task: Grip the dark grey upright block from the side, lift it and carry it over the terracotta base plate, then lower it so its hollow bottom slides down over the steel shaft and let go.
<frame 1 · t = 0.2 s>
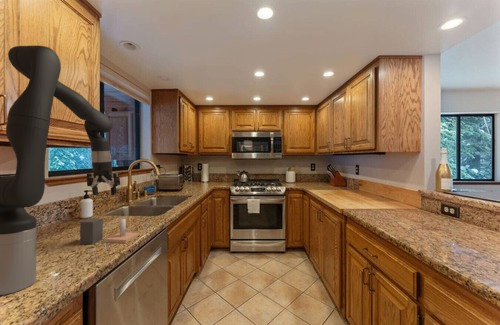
hand: (104, 194, 100), 22 cm above the worktop, tool pointing down, fingers open, 8 cm apart
dark grey upright block: (91, 241, 100), on the worktop
shaft plate: (122, 238, 104), on the worktop
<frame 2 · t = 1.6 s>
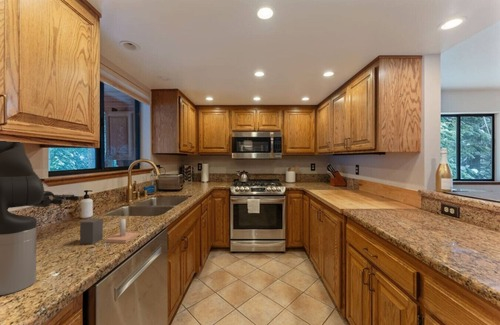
hand: (70, 200, 100), 19 cm above the worktop, tool horizontal, fingers open, 8 cm apart
nothing on the worktop moved.
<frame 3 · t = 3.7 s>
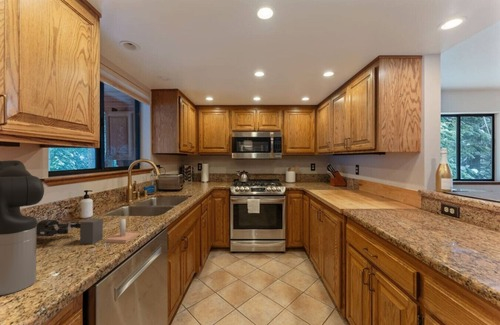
hand: (75, 228, 100), 6 cm above the worktop, tool horizontal, fingers open, 8 cm apart
nothing on the worktop moved.
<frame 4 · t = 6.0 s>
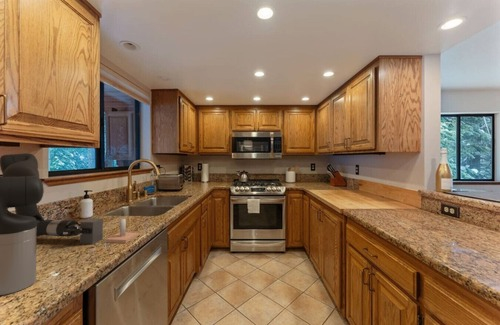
hand: (96, 229, 100), 6 cm above the worktop, tool horizontal, fingers closed on dark grey upright block, 6 cm apart
dark grey upright block: (91, 241, 100), on the worktop, touching gripper
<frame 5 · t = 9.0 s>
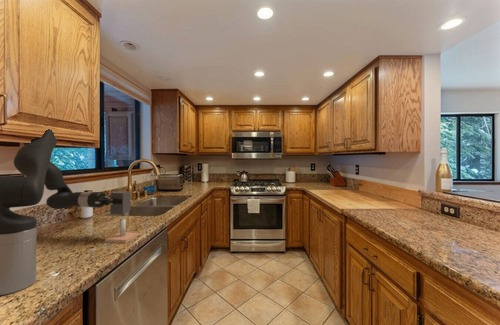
hand: (125, 200, 103), 19 cm above the worktop, tool horizontal, fingers closed on dark grey upright block, 6 cm apart
dark grey upright block: (120, 212, 104), point 13 cm above the worktop, touching gripper
when the fingers open (9 cm above the worktop, at t = 12.1 s): dark grey upright block drops 1 cm, resting on shaft plate.
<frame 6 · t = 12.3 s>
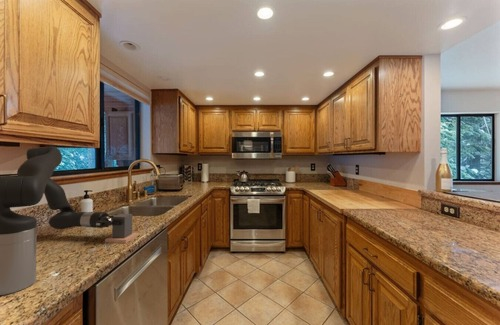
hand: (126, 220, 104), 9 cm above the worktop, tool horizontal, fingers open, 8 cm apart
dark grey upright block: (122, 235, 104), point 2 cm above the worktop, touching shaft plate
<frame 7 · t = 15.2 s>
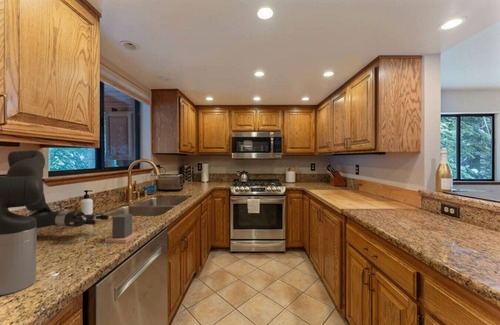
hand: (101, 219, 104), 9 cm above the worktop, tool horizontal, fingers open, 8 cm apart
nothing on the worktop moved.
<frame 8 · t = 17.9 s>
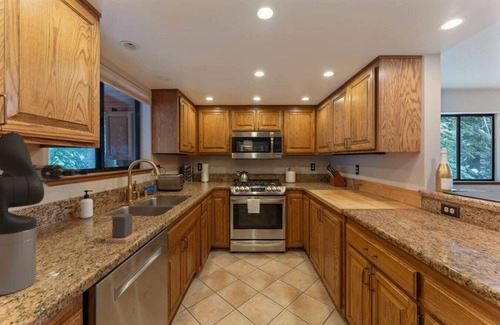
hand: (80, 173, 102), 32 cm above the worktop, tool horizontal, fingers open, 8 cm apart
nothing on the worktop moved.
at the end: dark grey upright block 0.1 cm off-centre on the shaft plate, point 1.5 cm above the shaft plate's base; dark grey upright block tilted 0°; the gripper is holding nothing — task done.
